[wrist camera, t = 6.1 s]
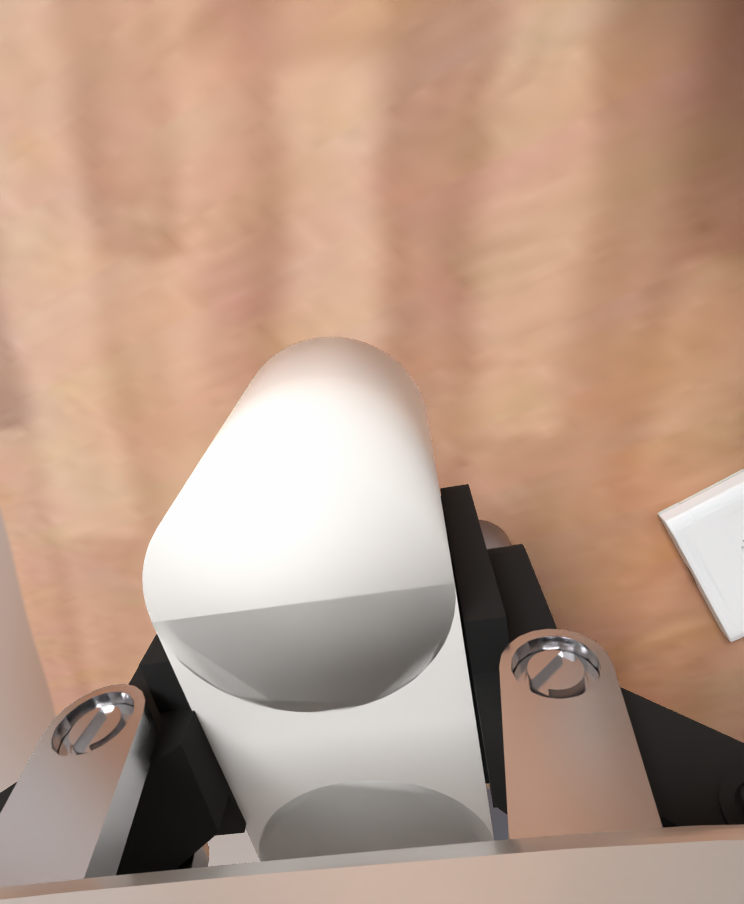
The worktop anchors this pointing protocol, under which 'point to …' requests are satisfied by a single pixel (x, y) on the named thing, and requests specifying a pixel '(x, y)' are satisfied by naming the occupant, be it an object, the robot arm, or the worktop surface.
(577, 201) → the worktop surface
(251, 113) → the worktop surface
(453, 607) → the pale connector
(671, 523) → the external hard drive
